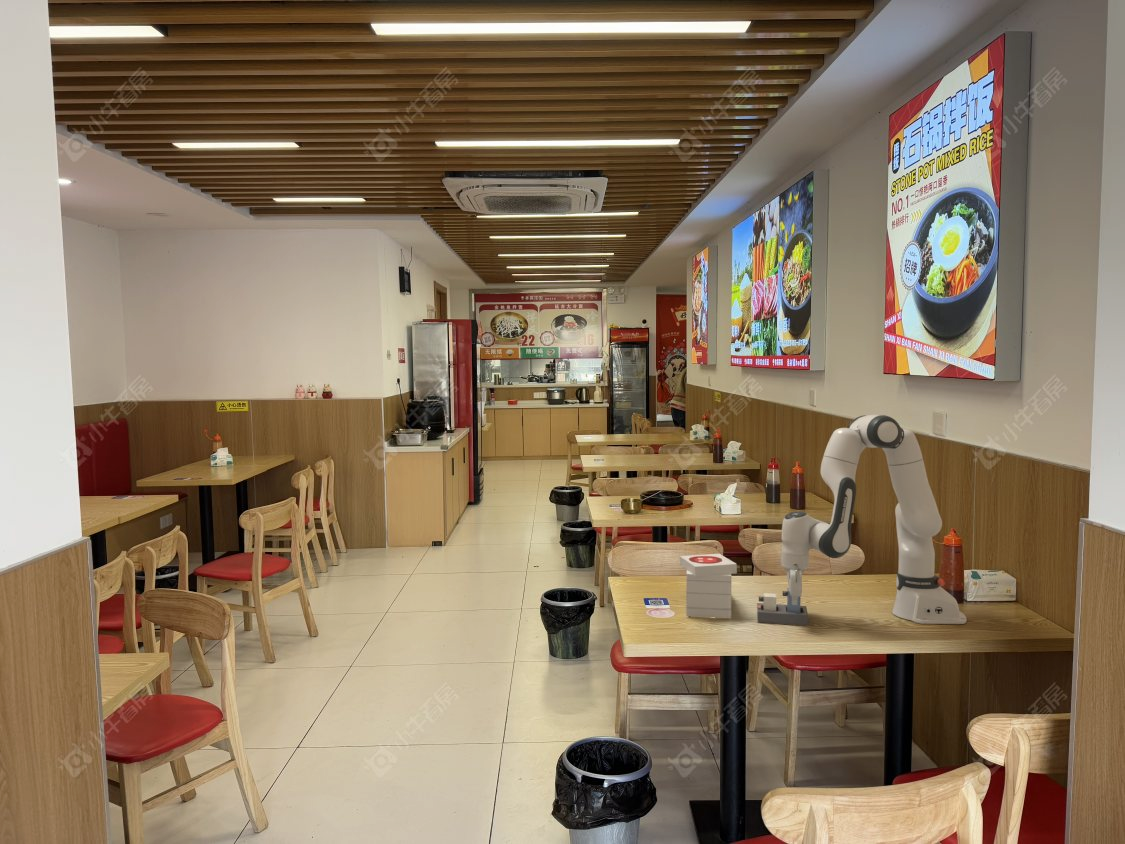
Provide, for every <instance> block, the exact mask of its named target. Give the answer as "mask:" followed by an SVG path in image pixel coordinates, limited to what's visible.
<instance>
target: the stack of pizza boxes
mask: <svg viewBox="0 0 1125 844" xmlns="http://www.w3.org/2000/svg"><path fill="white" fill-rule="evenodd" d="M679 566H680V567H682V568H683V569H685V570H686V590H685V591H686V596H685V597H686V604H685V605H686V606H685V607H686V616H691V617H690V618H695V617H715V618H714V619H716V618H731V619H732V574H737V573H738V571H737V570H738V564H737V563H736V562H734V561H732V560H731V559H729V558H727V557H725V556H724V555H723V554H721V553H711V554H709V553H708V554H694V555H692V554H691V555H679Z"/></svg>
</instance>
